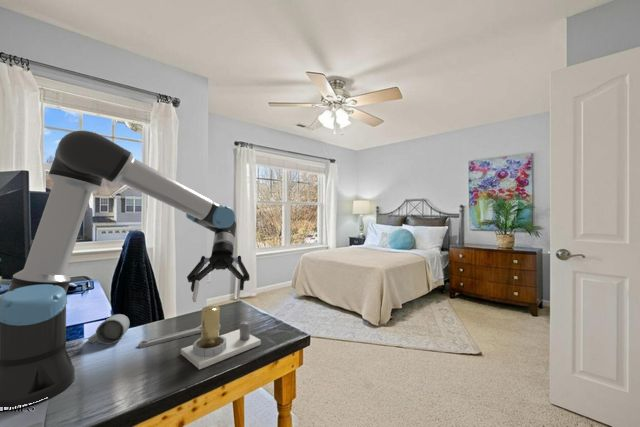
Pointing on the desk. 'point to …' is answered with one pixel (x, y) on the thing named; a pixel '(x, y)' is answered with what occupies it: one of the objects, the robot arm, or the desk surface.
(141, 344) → the adjustable wrench
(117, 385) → the desk surface
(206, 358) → the board
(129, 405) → the desk surface
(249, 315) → the desk surface
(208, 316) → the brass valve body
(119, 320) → the ceramic mug
